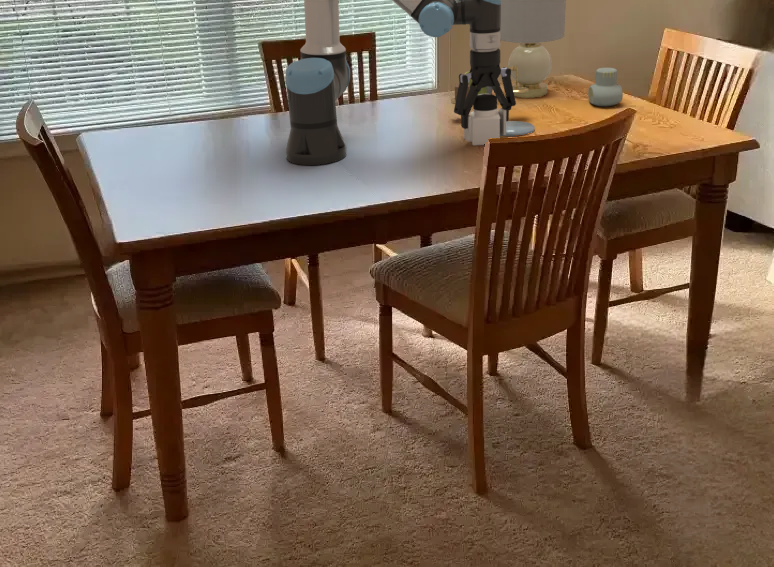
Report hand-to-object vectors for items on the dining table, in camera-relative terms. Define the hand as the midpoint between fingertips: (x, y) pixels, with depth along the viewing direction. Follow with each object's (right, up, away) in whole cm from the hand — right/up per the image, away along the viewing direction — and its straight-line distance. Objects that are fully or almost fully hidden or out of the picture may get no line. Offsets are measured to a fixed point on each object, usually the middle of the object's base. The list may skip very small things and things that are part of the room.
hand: (485, 137), depth 222 cm
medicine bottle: (0, -1, +1) cm, 1 cm away
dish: (+8, +3, +8) cm, 12 cm away
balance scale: (+3, +8, +18) cm, 20 cm away
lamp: (+18, +20, +43) cm, 51 cm away
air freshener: (+38, +14, +28) cm, 49 cm away
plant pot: (+3, +17, +37) cm, 41 cm away
